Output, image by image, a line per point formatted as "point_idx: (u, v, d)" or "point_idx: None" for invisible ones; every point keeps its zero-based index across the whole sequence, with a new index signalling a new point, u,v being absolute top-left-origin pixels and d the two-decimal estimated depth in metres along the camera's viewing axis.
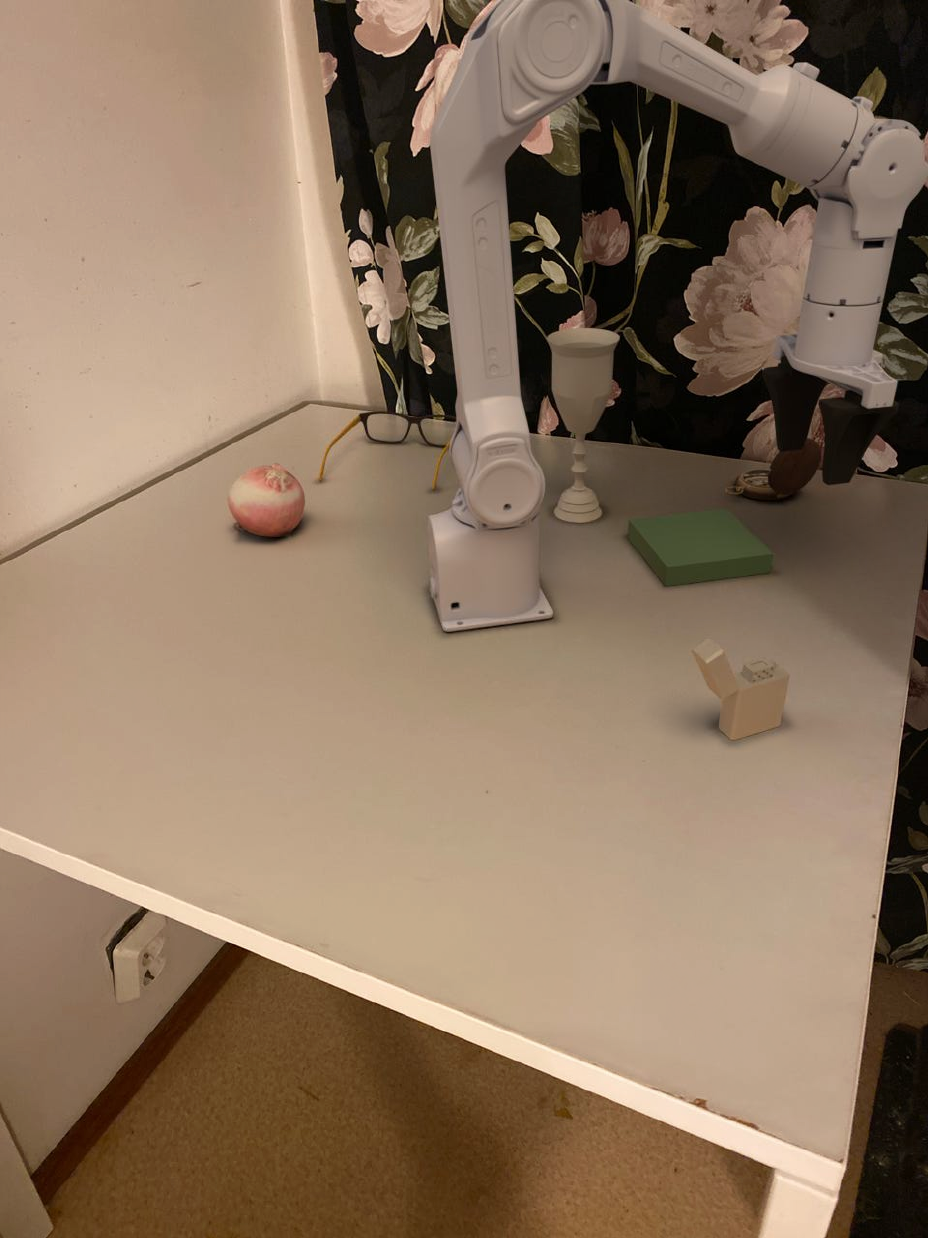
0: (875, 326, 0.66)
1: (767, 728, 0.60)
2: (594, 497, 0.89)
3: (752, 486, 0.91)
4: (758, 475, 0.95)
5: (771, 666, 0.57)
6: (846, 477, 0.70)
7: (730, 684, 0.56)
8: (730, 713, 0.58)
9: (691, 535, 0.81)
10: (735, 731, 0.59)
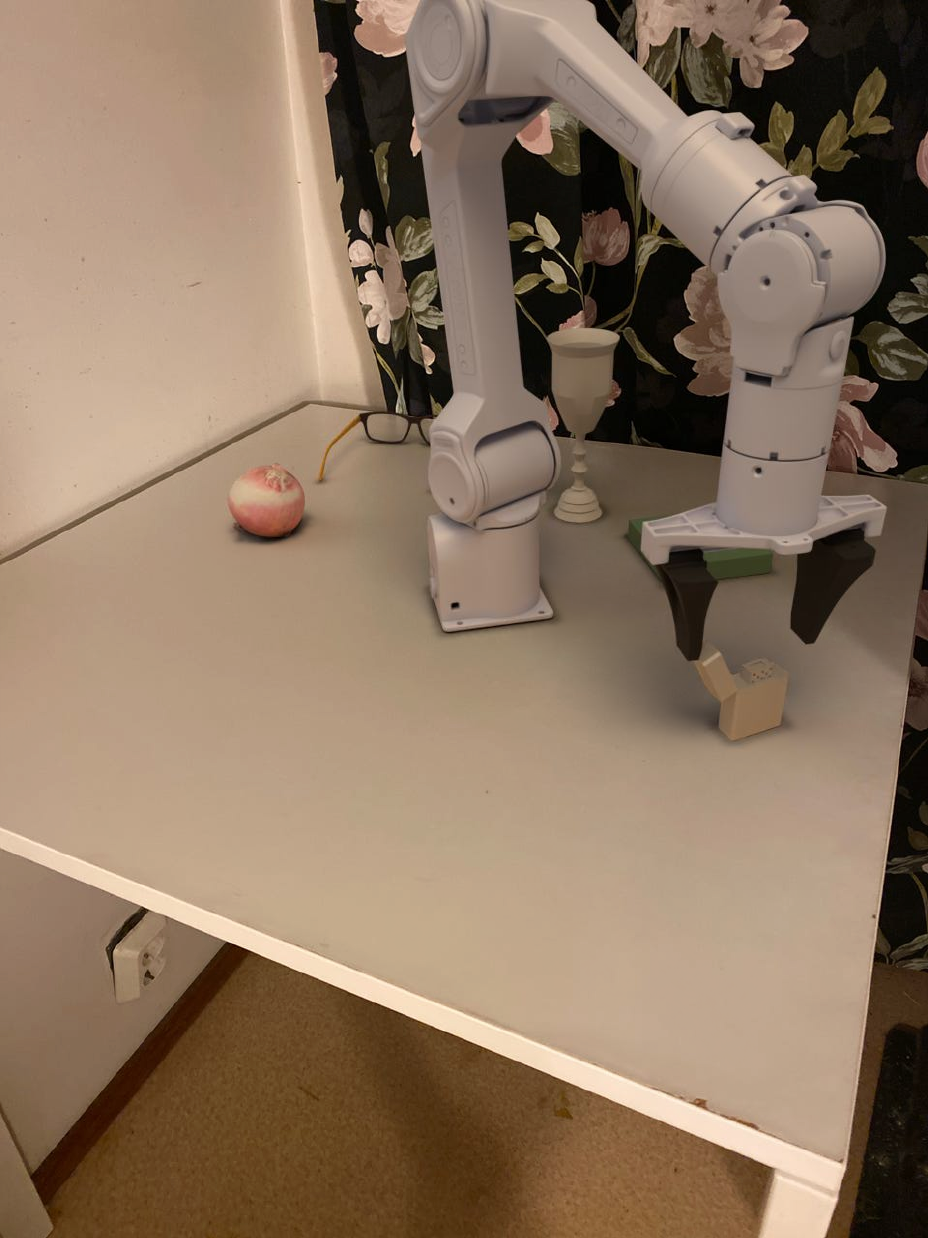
0: (749, 489, 0.48)
1: (767, 728, 0.60)
2: (594, 497, 0.89)
3: None
4: None
5: (770, 666, 0.57)
6: (685, 650, 0.55)
7: (728, 686, 0.56)
8: (729, 714, 0.58)
9: None
10: (734, 732, 0.59)
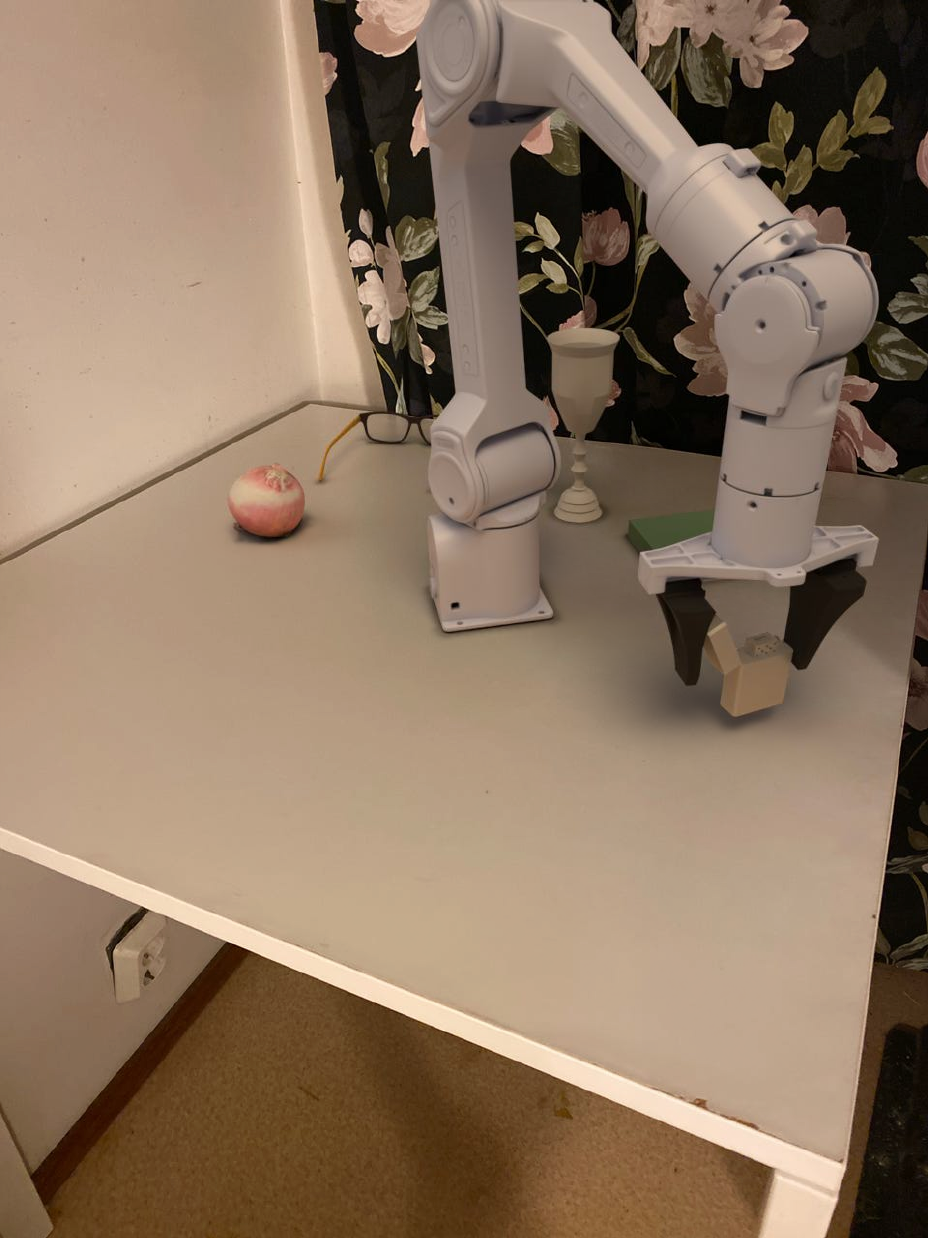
0: (744, 523, 0.49)
1: (770, 705, 0.59)
2: (594, 497, 0.89)
3: None
4: None
5: (774, 641, 0.56)
6: (683, 675, 0.56)
7: (732, 658, 0.55)
8: (732, 689, 0.57)
9: (691, 535, 0.81)
10: (737, 707, 0.58)
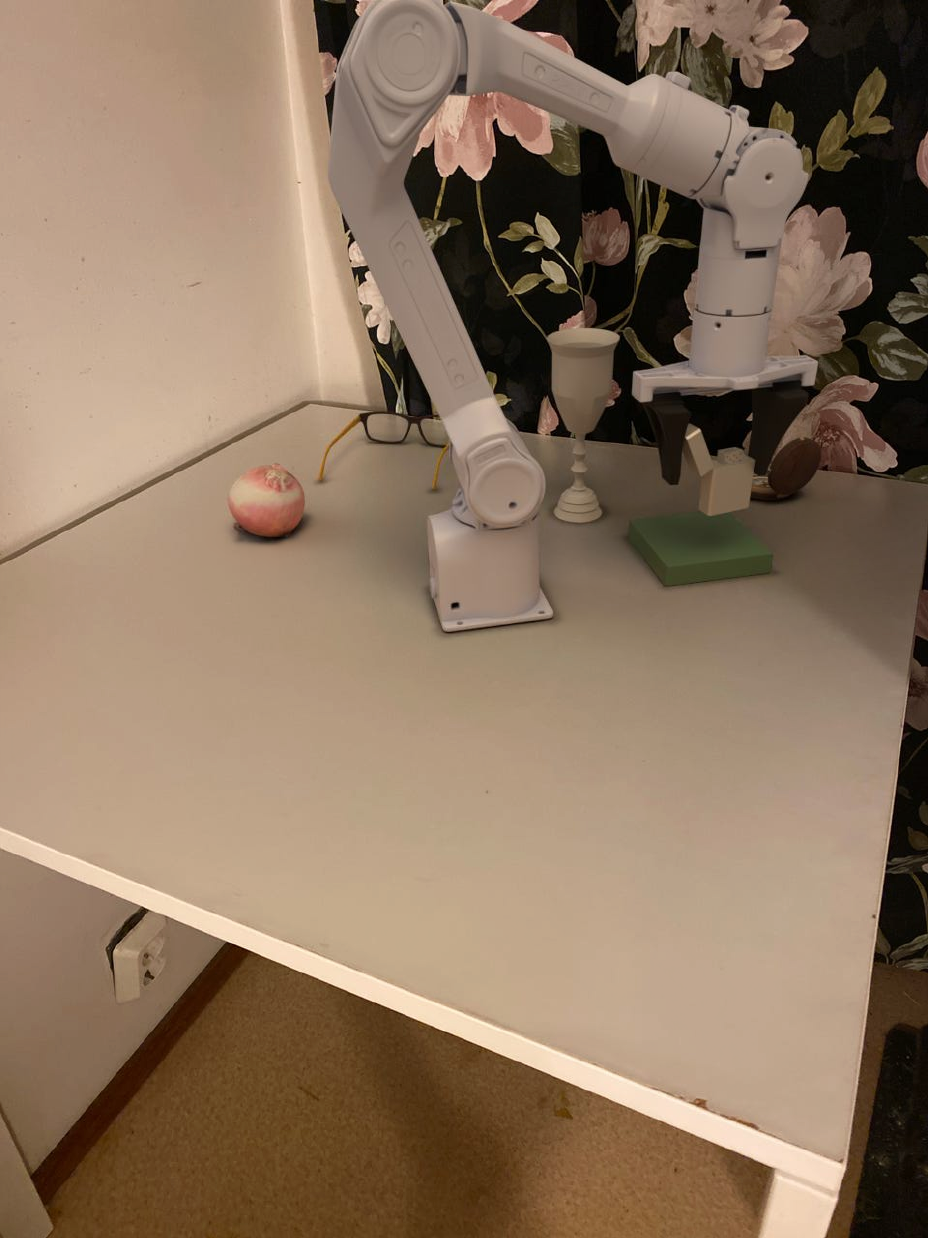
0: (712, 340, 0.65)
1: (738, 508, 0.74)
2: (594, 497, 0.89)
3: (752, 486, 0.91)
4: None
5: (740, 451, 0.72)
6: (668, 477, 0.72)
7: (706, 462, 0.71)
8: (707, 492, 0.73)
9: (691, 535, 0.81)
10: (711, 507, 0.73)
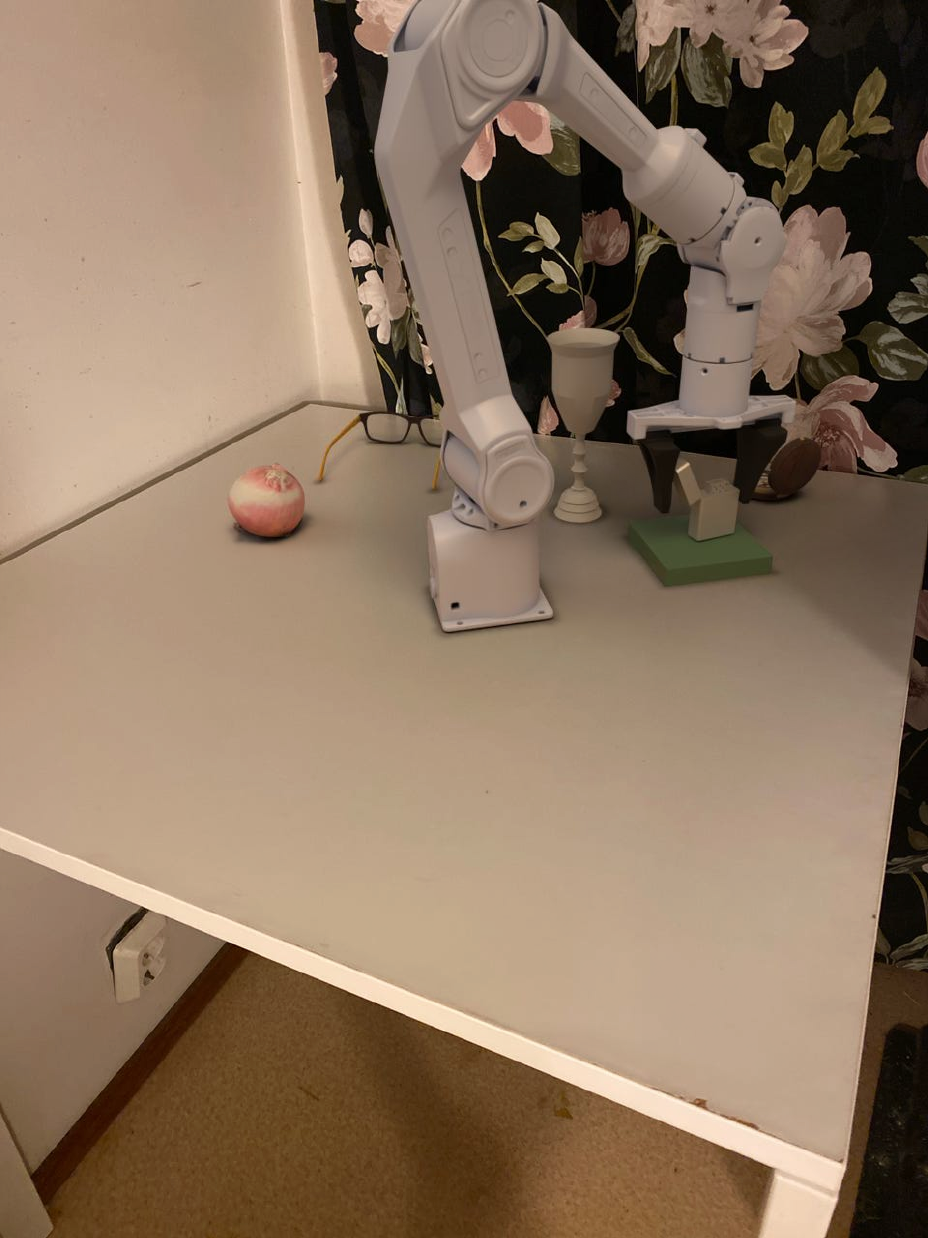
0: (699, 384, 0.71)
1: (724, 533, 0.81)
2: (594, 497, 0.89)
3: None
4: None
5: (725, 482, 0.78)
6: (659, 506, 0.78)
7: (695, 492, 0.77)
8: (696, 519, 0.79)
9: (690, 537, 0.81)
10: (699, 533, 0.80)
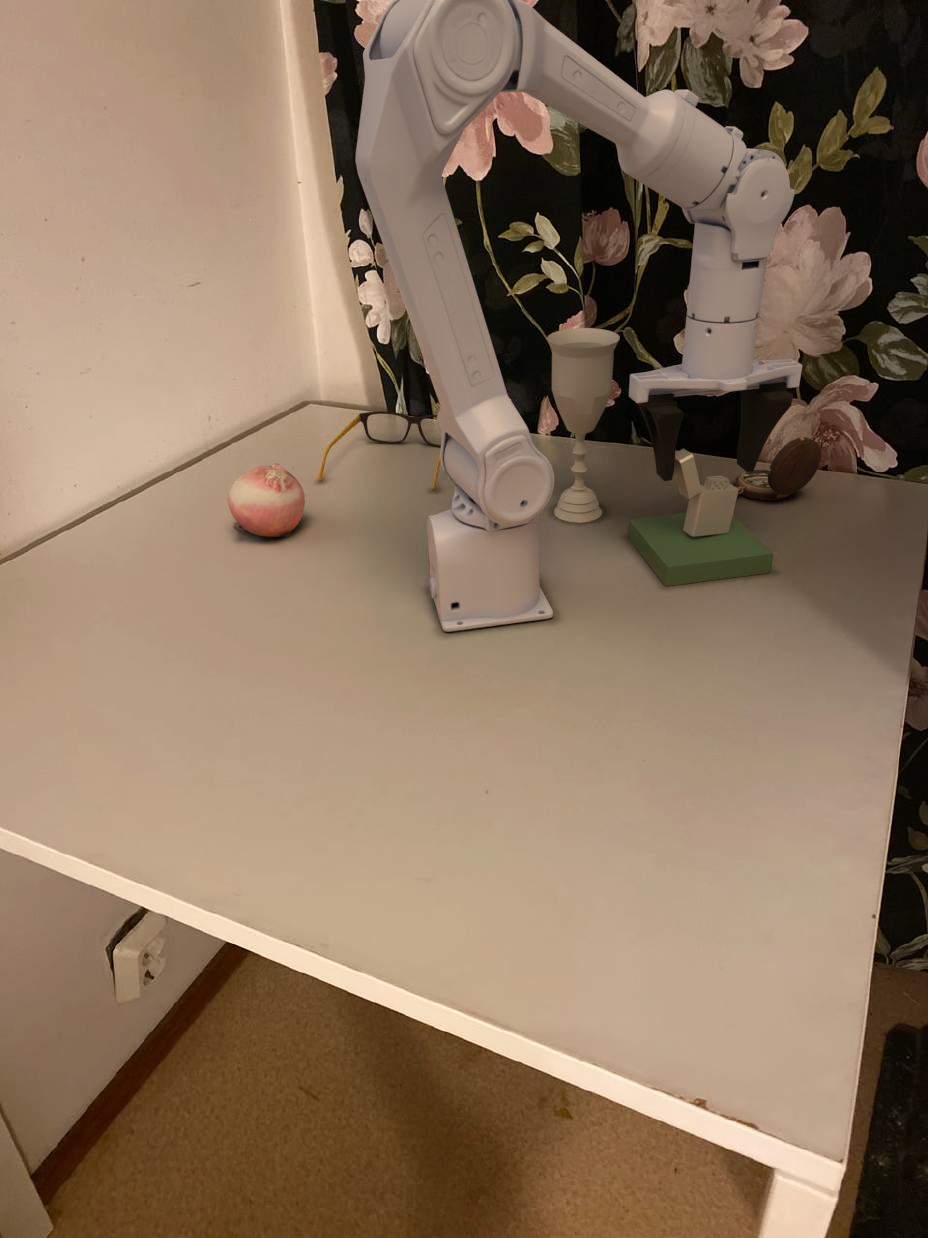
0: (703, 345, 0.69)
1: (719, 532, 0.81)
2: (594, 497, 0.89)
3: (752, 486, 0.91)
4: (758, 475, 0.95)
5: (725, 479, 0.78)
6: (662, 473, 0.76)
7: (695, 485, 0.77)
8: (693, 514, 0.79)
9: None
10: (695, 528, 0.79)
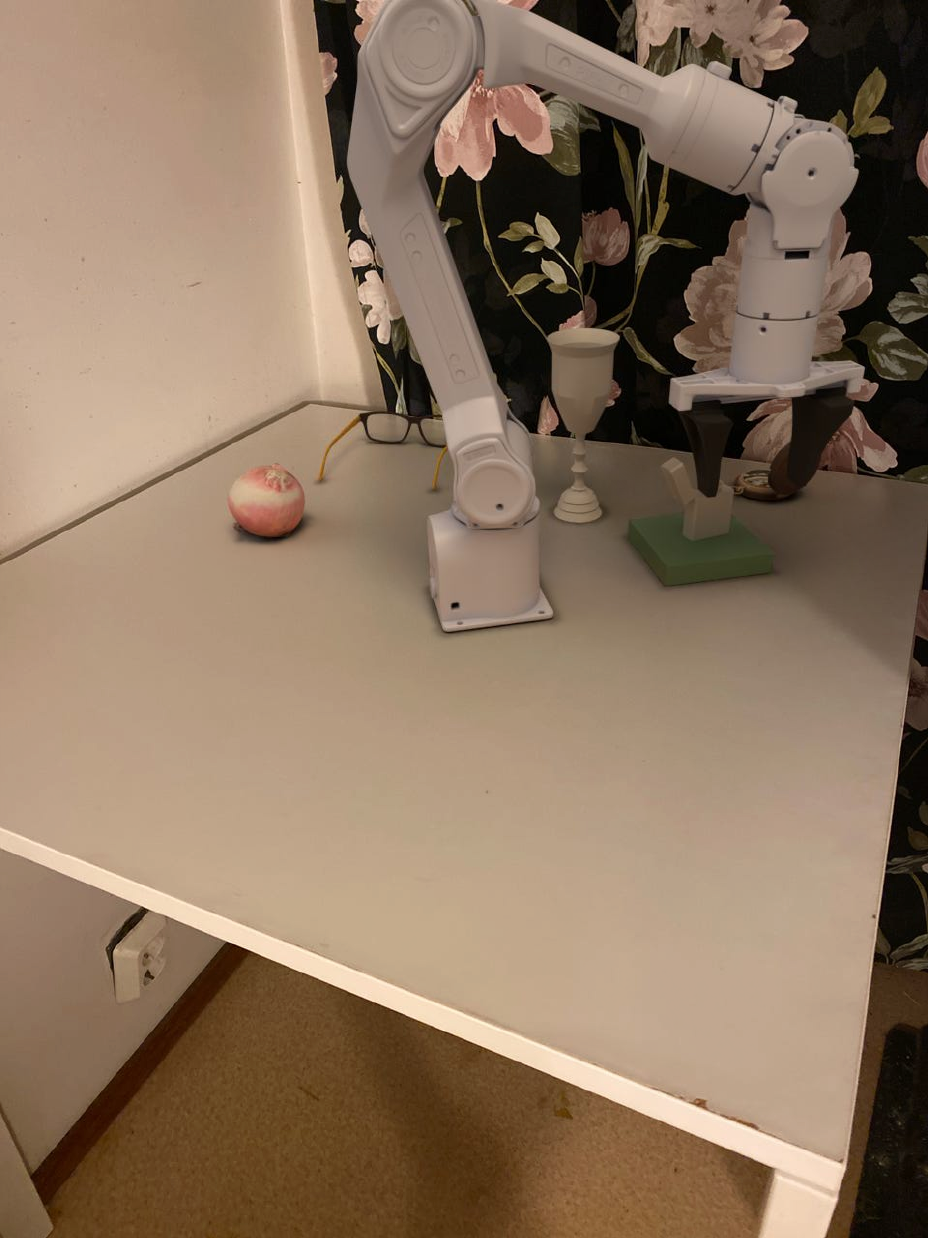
0: (756, 345, 0.61)
1: (718, 533, 0.81)
2: (594, 497, 0.89)
3: (752, 486, 0.91)
4: (758, 475, 0.95)
5: (719, 482, 0.78)
6: (705, 489, 0.68)
7: (689, 492, 0.77)
8: (690, 519, 0.79)
9: None
10: (694, 533, 0.79)
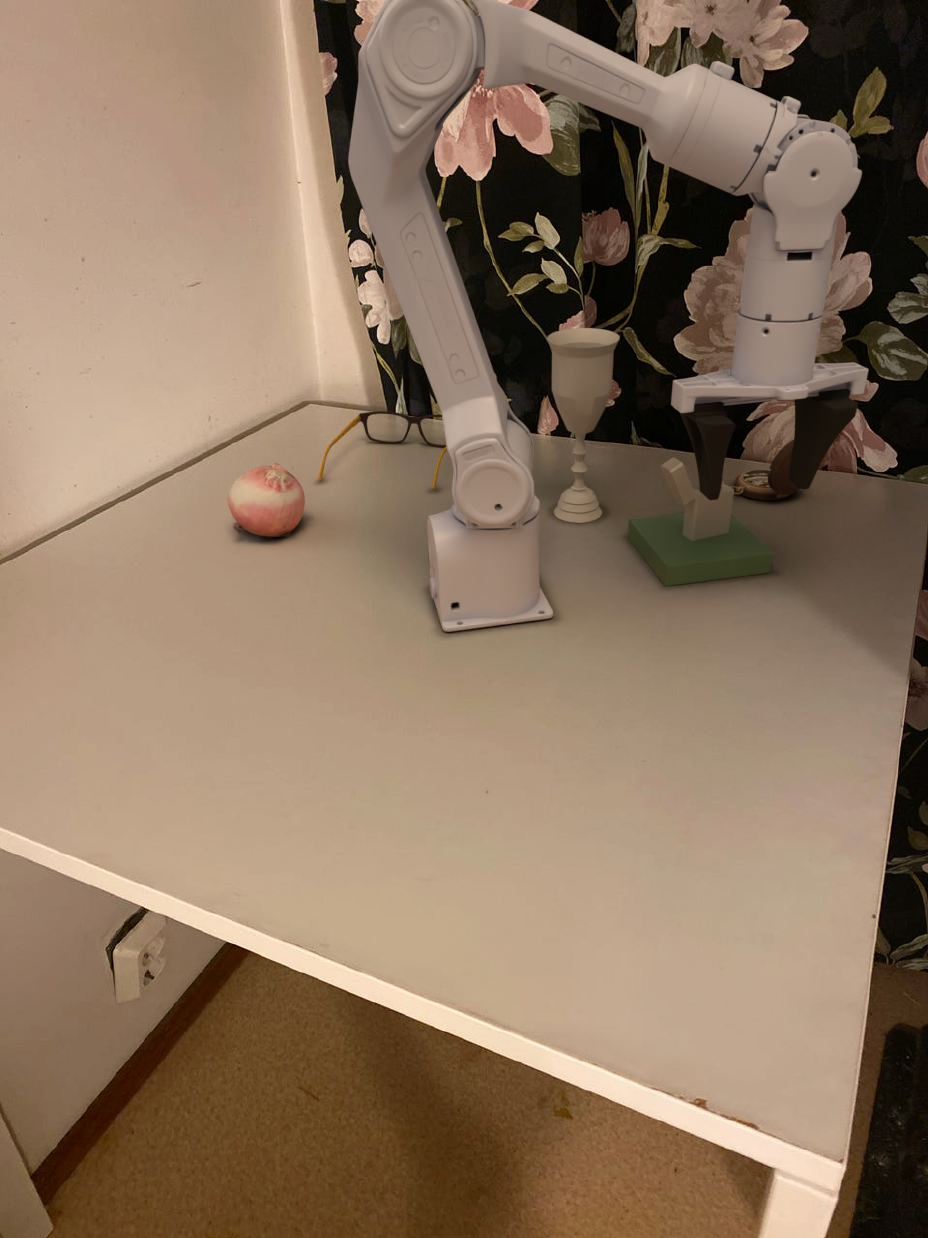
0: (759, 347, 0.61)
1: (718, 533, 0.81)
2: (594, 497, 0.89)
3: (752, 486, 0.91)
4: (758, 475, 0.95)
5: None
6: (707, 492, 0.68)
7: (689, 492, 0.77)
8: (690, 519, 0.79)
9: None
10: (694, 533, 0.79)
